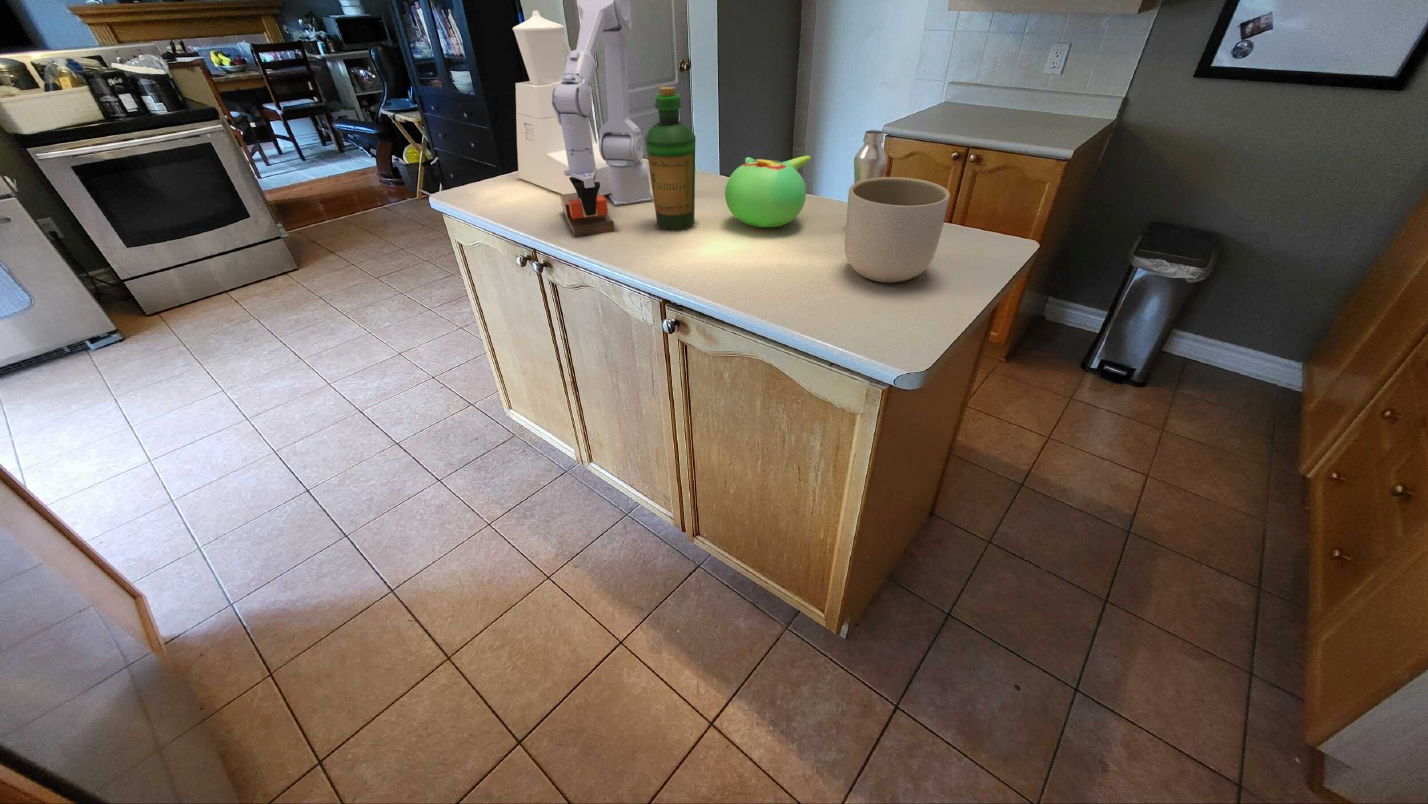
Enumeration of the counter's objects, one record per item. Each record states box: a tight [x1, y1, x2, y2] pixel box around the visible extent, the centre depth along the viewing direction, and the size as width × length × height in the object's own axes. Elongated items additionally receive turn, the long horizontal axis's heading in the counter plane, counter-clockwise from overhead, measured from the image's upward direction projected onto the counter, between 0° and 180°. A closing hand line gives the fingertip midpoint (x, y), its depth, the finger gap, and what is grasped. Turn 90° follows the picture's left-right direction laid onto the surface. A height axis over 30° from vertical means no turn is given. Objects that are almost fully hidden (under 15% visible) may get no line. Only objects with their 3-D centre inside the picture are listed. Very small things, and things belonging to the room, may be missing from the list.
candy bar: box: [568, 195, 609, 219], centre depth 128 cm, size 8×4×3 cm, turn 110°
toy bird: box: [724, 155, 812, 228], centre depth 126 cm, size 18×17×15 cm
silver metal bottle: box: [853, 129, 888, 184], centre depth 120 cm, size 6×7×20 cm
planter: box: [844, 176, 951, 284], centre depth 104 cm, size 17×17×15 cm
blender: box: [512, 9, 612, 196], centre depth 147 cm, size 33×18×40 cm, turn 44°
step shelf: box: [559, 192, 615, 237], centre depth 133 cm, size 9×17×4 cm, turn 20°
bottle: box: [644, 86, 696, 231], centre depth 123 cm, size 11×11×28 cm
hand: (589, 212), depth 129 cm, fingers closed on candy bar, 3 cm apart
